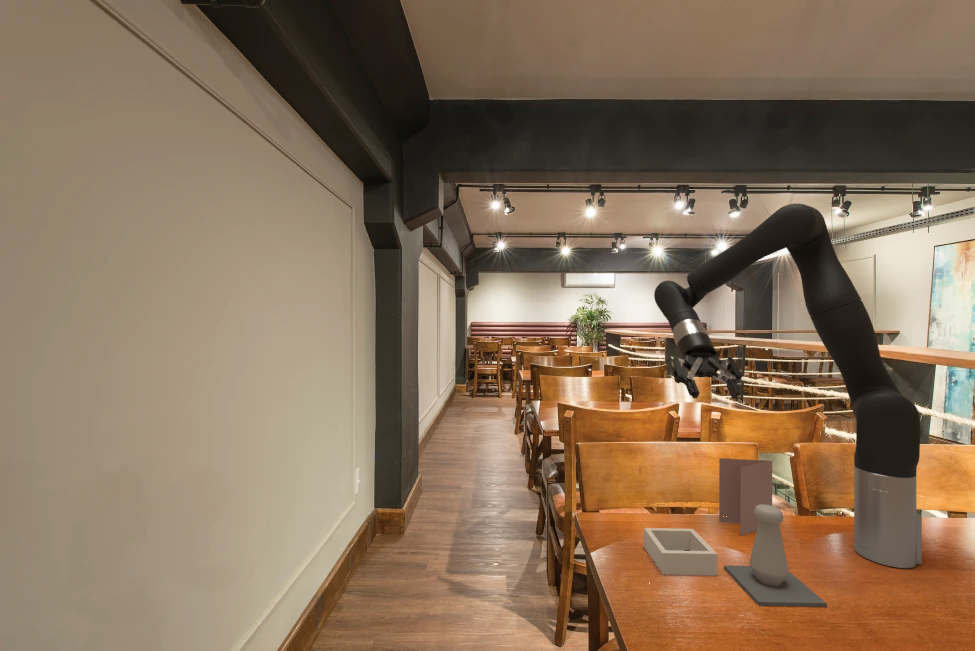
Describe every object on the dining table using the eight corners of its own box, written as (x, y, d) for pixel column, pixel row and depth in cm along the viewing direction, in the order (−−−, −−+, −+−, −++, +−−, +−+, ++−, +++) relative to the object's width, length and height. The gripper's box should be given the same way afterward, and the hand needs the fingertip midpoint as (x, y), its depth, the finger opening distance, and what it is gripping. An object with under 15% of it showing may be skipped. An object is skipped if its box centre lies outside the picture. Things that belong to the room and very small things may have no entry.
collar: (692, 548, 90) (692, 528, 90) (717, 575, 80) (717, 553, 80) (643, 547, 90) (644, 528, 90) (662, 574, 80) (662, 552, 80)
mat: (782, 569, 82) (782, 566, 82) (826, 606, 71) (826, 603, 71) (723, 568, 83) (723, 565, 83) (758, 605, 72) (758, 601, 72)
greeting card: (770, 524, 102) (770, 459, 102) (787, 539, 94) (787, 469, 94) (717, 520, 103) (718, 457, 103) (730, 535, 96) (730, 467, 96)
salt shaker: (776, 572, 80) (777, 501, 80) (795, 590, 75) (795, 514, 75) (743, 570, 81) (743, 500, 81) (759, 588, 75) (759, 513, 75)
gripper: (667, 331, 104) (688, 385, 92) (728, 331, 103) (757, 386, 92) (659, 352, 109) (678, 406, 98) (716, 352, 109) (742, 406, 97)
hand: (716, 396), depth 95 cm, fingers open, 8 cm apart
